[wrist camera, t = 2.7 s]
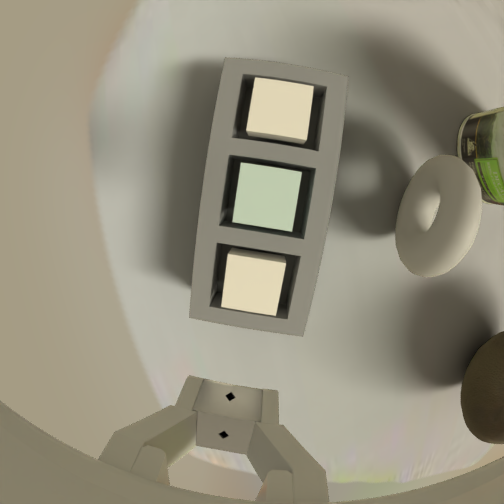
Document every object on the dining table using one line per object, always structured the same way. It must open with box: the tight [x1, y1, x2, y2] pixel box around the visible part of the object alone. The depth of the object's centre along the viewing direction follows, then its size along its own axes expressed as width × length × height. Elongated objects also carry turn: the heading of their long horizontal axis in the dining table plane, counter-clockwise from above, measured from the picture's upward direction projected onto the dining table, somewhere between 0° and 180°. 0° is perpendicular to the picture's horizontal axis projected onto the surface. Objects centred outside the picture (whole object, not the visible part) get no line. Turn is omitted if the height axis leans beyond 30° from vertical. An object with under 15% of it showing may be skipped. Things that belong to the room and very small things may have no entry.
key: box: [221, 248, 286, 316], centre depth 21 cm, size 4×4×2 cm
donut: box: [395, 155, 482, 278], centre depth 18 cm, size 10×3×10 cm, turn 163°
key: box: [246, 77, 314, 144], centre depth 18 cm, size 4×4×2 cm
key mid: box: [232, 163, 302, 232], centre depth 19 cm, size 4×4×2 cm
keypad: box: [189, 58, 348, 337], centre depth 21 cm, size 20×9×5 cm, turn 172°
